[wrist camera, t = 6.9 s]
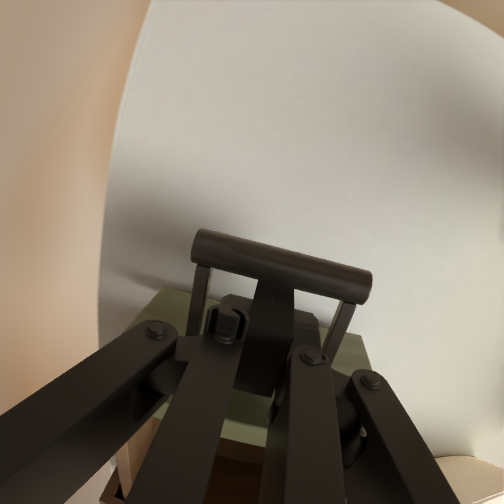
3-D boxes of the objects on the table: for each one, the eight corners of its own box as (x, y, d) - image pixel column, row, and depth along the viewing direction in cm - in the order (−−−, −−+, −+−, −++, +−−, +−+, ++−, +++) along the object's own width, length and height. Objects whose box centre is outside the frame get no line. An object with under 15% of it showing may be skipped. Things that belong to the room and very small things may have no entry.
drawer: (177, 196, 17) (84, 237, 9) (394, 252, 17) (466, 333, 8) (152, 430, 24) (115, 508, 15) (292, 465, 23) (286, 550, 15)
